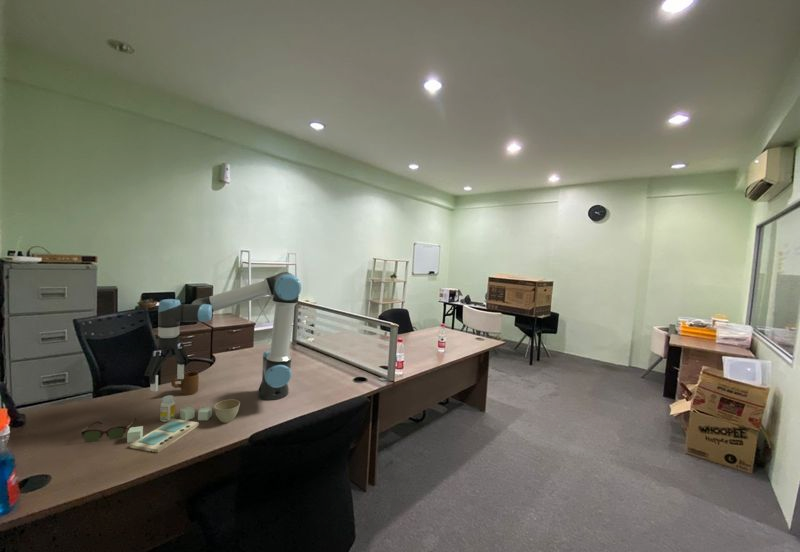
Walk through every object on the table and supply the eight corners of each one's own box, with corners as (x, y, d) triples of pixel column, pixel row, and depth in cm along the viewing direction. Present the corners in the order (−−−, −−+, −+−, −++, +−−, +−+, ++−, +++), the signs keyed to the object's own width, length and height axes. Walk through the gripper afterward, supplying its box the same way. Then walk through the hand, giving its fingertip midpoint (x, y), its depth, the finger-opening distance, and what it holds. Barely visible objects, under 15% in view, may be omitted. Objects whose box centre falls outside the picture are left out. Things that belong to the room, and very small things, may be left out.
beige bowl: (220, 414, 153) (220, 399, 153) (242, 414, 154) (243, 399, 153) (209, 425, 143) (210, 409, 143) (234, 426, 144) (234, 410, 144)
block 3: (211, 415, 151) (211, 407, 151) (207, 420, 147) (207, 411, 147) (202, 415, 151) (202, 407, 151) (197, 420, 147) (198, 411, 147)
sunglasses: (79, 444, 125) (80, 431, 125) (97, 427, 139) (97, 415, 139) (127, 438, 131) (127, 425, 131) (139, 422, 145) (140, 411, 145)
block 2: (194, 417, 149) (194, 408, 149) (185, 421, 146) (185, 412, 145) (189, 414, 151) (189, 406, 151) (179, 418, 147) (180, 409, 147)
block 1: (142, 435, 133) (142, 425, 133) (140, 441, 130) (140, 431, 129) (130, 437, 131) (130, 427, 131) (127, 443, 128) (127, 432, 127)
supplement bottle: (161, 423, 143) (161, 401, 142) (159, 418, 146) (159, 396, 146) (176, 419, 146) (176, 398, 146) (173, 414, 150) (174, 393, 149)
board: (198, 425, 143) (198, 422, 143) (157, 452, 123) (157, 449, 123) (173, 421, 145) (173, 418, 145) (129, 447, 125) (129, 443, 125)
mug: (174, 399, 164) (174, 380, 163) (168, 394, 168) (168, 376, 168) (200, 392, 173) (201, 374, 173) (194, 387, 178) (195, 370, 177)
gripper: (184, 328, 156) (183, 373, 158) (133, 342, 132) (133, 395, 133) (198, 330, 155) (197, 375, 157) (150, 344, 131) (149, 397, 132)
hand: (167, 384), depth 145 cm, fingers open, 13 cm apart
